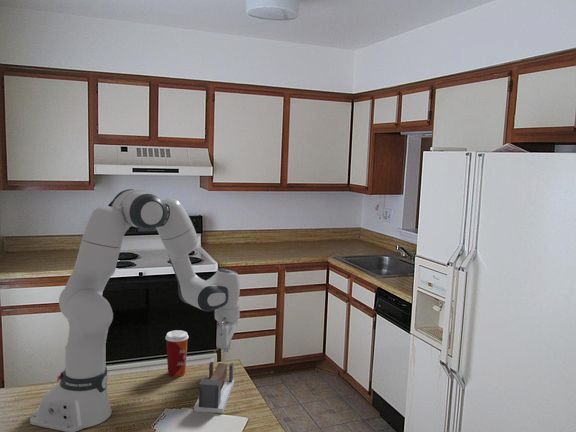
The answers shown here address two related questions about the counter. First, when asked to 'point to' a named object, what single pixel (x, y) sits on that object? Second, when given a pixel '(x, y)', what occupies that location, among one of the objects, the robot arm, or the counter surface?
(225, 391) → the endcap frame
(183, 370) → the coffee cup
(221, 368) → the slat
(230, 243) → the counter surface
